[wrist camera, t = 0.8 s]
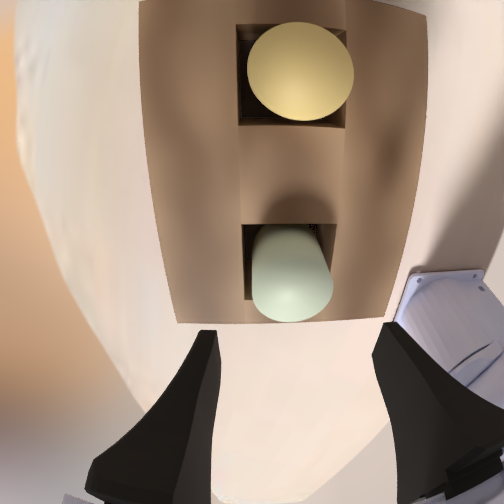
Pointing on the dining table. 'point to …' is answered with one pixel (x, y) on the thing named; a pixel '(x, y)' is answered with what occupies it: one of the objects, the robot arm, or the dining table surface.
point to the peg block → (280, 152)
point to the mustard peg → (300, 71)
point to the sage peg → (289, 273)
